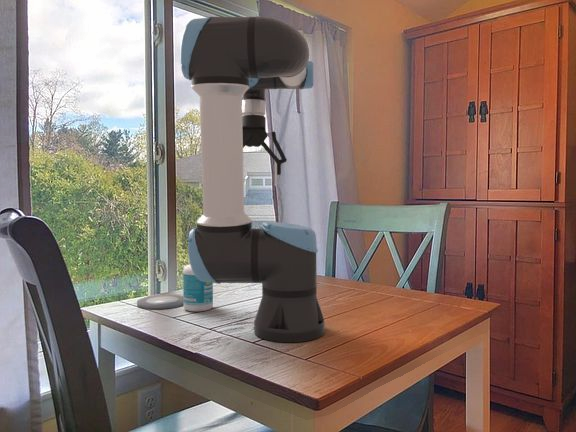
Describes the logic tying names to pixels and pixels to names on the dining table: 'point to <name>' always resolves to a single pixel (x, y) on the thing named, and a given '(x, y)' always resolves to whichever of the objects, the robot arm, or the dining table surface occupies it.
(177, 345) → the dining table surface
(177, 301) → the coaster
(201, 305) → the pill bottle
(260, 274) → the robot arm
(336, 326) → the dining table surface
